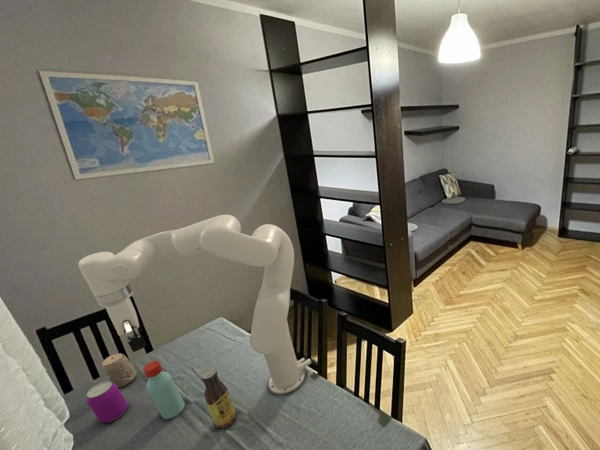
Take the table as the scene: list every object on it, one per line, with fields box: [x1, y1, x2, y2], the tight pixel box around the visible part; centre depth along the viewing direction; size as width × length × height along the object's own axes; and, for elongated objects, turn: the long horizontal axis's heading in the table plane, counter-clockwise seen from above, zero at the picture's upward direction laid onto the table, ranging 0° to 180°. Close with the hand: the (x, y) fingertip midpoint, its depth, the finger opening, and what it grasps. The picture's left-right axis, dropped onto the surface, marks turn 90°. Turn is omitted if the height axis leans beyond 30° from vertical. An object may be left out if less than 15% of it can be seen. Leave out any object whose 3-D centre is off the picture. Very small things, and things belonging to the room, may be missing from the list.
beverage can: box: [86, 380, 129, 424], centre depth 105 cm, size 8×8×12 cm
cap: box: [142, 360, 163, 379], centre depth 99 cm, size 4×4×3 cm
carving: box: [101, 352, 137, 388], centre depth 117 cm, size 6×8×12 cm
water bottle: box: [146, 370, 186, 420], centre depth 103 cm, size 7×7×20 cm
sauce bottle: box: [200, 368, 237, 429], centre depth 98 cm, size 6×6×20 cm
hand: (138, 340), depth 95 cm, fingers open, 9 cm apart
